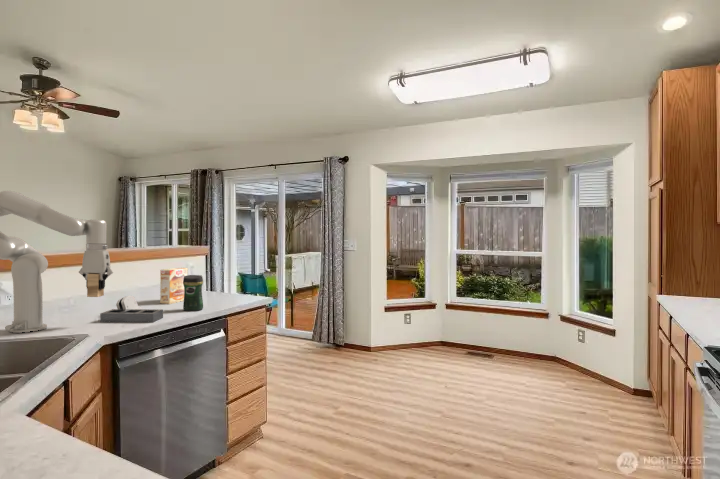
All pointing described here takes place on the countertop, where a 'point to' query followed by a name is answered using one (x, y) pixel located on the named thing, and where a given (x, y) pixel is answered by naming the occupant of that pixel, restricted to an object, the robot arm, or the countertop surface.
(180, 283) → the coffeecake box
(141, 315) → the rail
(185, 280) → the coffee jar
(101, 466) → the countertop surface
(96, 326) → the countertop surface
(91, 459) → the countertop surface
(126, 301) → the hinge
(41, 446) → the countertop surface
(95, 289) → the peg
